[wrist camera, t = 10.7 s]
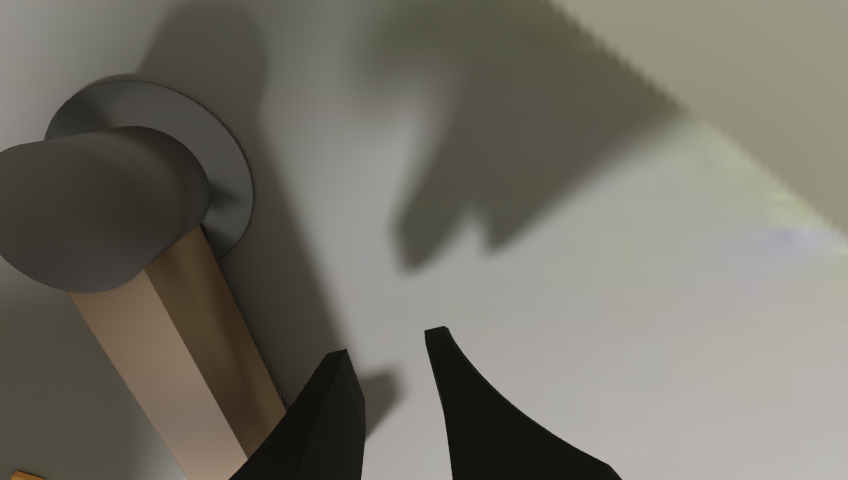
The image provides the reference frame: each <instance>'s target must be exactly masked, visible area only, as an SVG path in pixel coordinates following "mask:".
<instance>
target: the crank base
mask: <svg viewBox="0 0 848 480" xmlns="http://www.w3.org/2000/svg"><path fill="white" fill-rule="evenodd" d="M124 126H143V127H148V128H153V129H156V130H159V131H162V132H164V133H166V134H168V135H170V136H172V137H173V138H175V139H177V140H178V141H179V142H181V143H182V144H183V145H185V146H186V147H187V148H188V149H189V150H190V151H191V152H192V153H193V154H194V156H195V157H196V158H197V159H198V161H199V162H200V164H201V165H202V167H203V169H204V171H205V173H206V176H207V179H208V182H209V186H210V205H209V209H208V212H207V214H206V216H205V218H204V220H203V221H202V223H201V224H200V227H201V229H202V231H203V234H204V236H205V238H206V240H207V242H208V244H209V247H210V249H211V251H212V253H213V255H214V257H215V259H216V260H217V259H219V258H220V257H222V256H224V255H225V254H226V253H227V252H228V251H229V250H231V249H232V248H233V247H234V245H235V244H236V243H237V242H238V241H239V240H240V238H241V237H242V235H243V234H244V232H245V230H246V229H247V226H248V224H249V222H250V219H251V215H252V211H253V206H254V184H253V178H252V173H251V170H250V167H249V164H248V161H247V159H246V156H245V154H244V152H243V150H242V148H241V147H240V145H239V143H238V142H237V140H236V138H235V137H234V136H233V134H232V133H231V132H230V131H229V129H228V128H227V127H226V126H225V125H224V124H223V123H222V122H221V121H220V120H219V119H218V118H217V117H216V116H215V115H214V114H213V113H212V112H210V111H209V110H208V109H207V108H205V107H204V106H203V105H201V104H200V103H198V102H196V101H195V100H193V99H192V98H190V97H188V96H186V95H184V94H182V93H180V92H178V91H175V90H172V89H170V88H167V87H164V86H160V85H156V84H152V83H146V82H137V81H116V82H109V83H103V84H99V85H96V86H93V87H90V88H87V89H85V90H83V91H81V92H79V93H77V94H76V95H75V96H73V97H72V98H70V99H69V100H68V101H66V102H65V104H64V105H63V106H62V107H61V108H60V109H59V110H58V111H57V113H56V114H55V116H54V117H53V119H52V120H51V122H50V124H49V127H48V129H47V131H46V135H45V139H44V140H50V139H56V138H61V137H67V136H72V135H78V134H84V133H89V132H95V131H101V130H106V129H112V128H118V127H124Z"/></svg>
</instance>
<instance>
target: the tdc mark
mask: <svg viewBox="0 0 848 480" xmlns="http://www.w3.org/2000/svg"><path fill="white" fill-rule="evenodd" d="M11 480H43V478H40V477H36V476H33V475H29V474H26V473H22V472H19V471H16V472H15V473H14V474H13V475H12V478H11Z"/></svg>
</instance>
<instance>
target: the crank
mask: <svg viewBox="0 0 848 480" xmlns="http://www.w3.org/2000/svg"><path fill="white" fill-rule="evenodd" d="M209 205H210V186H209V182H208V179H207V176H206V173H205V171H204V169H203V167H202V165H201V164H200V162H199V161H198V159H197V158H196V157H195V156H194V154H193V153H192V152H191V151H190V150H189V149H188V148H187V147H186V146H185V145H183V144H182V143H181V142H179V141H178V140H177V139H175V138H173V137H172V136H170V135H168V134H166V133H164V132H162V131H159V130H156V129H153V128H148V127H143V126H124V127H118V128H112V129H106V130H101V131H95V132H89V133H84V134H78V135H72V136H67V137H61V138H56V139H50V140H44V141H39V142H33V143H27V144H22V145H18V146H14V147H11V148H8V149H6V150H4V151H2V152H0V255H1V256H2V257H3V258H4V259H5V260H6V261H7V262H9V263H10V264H11V265H12V266H13V267H15V268H16V269H18V270H19V271H20V272H22V273H23V274H25V275H27V276H28V277H30V278H32V279H34V280H36V281H38V282H40V283H42V284H45V285H48V286H51V287H53V288H57V289H61V290H65V291H66V292H67V294H68V295H69V297H70V299H71V300H72V302H73V303H74V305H75V306H76V308H77V309H78V311H79V312H80V314H81V316H82V317H83V319H84V320H85V322H86V323H87V325H88V326H89V328H90V329H91V331H92V333H93V334H94V336H95V337H96V339H97V340H98V342H99V343H100V345H101V346H102V348H103V349H104V351H105V353H106V354H107V356H108V357H109V359H110V360H111V362H112V363H113V365H114V366H115V368H116V370H117V371H118V373H119V374H120V376H121V377H122V379H123V380H124V382H125V383H126V385H127V387H128V388H129V390H130V391H131V393H132V394H133V396H134V397H135V399H136V400H137V402H138V404H139V405H140V407H141V408H142V410H143V411H144V413H145V414H146V416H147V417H148V419H149V421H150V422H151V424H152V425H153V427H154V428H155V430H156V431H157V433H158V434H159V436H160V438H161V439H162V441H163V442H164V444H165V445H166V447H167V448H168V450H169V451H170V453H171V454H172V456H173V458H174V459H175V461H176V462H177V464H178V465H179V467H180V468H181V470H182V471H183V473H184V475H185V476H186V478H187V479H188V480H228V479H229V478H230V477H231V476H232V475H233V474H234V473H235V472H237V471H238V470H239V468H240V467H241V466H242V465H243V464H244V463H245V462H246V461H247V460H248V459H249V458H250V456H251V455H252V454H253V453H254V452H255V451H256V450H257V449H258V448H259V446H260V445H261V444H262V443H263V442H264V441H265V439H266V438H267V437H268V436H269V435H270V433H271V432H272V431H273V429H274V428H275V427H276V426H277V424H278V423H279V422H280V420H281V419H282V418H283V416H284V415H285V414H286V410H285V408H284V406H283V404H282V401H281V399H280V397H279V395H278V393H277V391H276V388H275V386H274V384H273V382H272V380H271V378H270V376H269V373H268V371H267V369H266V367H265V365H264V363H263V361H262V358H261V356H260V354H259V352H258V350H257V348H256V345H255V343H254V341H253V339H252V337H251V335H250V333H249V330H248V328H247V326H246V324H245V322H244V320H243V317H242V315H241V313H240V311H239V309H238V307H237V305H236V302H235V300H234V298H233V296H232V294H231V292H230V290H229V287H228V285H227V283H226V281H225V279H224V277H223V274H222V272H221V270H220V268H219V266H218V264H217V262H216V259H215V257H214V255H213V253H212V251H211V249H210V247H209V244H208V242H207V240H206V238H205V236H204V234H203V231H202V229H201V227H200V224H201V223H202V221H203V220H204V218H205V216H206V214H207V212H208V209H209Z"/></svg>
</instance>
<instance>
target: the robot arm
mask: <svg viewBox="0 0 848 480" xmlns="http://www.w3.org/2000/svg"><path fill="white" fill-rule="evenodd" d="M425 343H426V347H427V351H428V355H429V359H430V363H431V366H432V370H433V374H434V378H435V381H436V385H437V389H438V393H439V397H440V400H441V404H442V408H443V412H444V417H445V424H446V431H447V438H448V445H449V453H450V461H451V469H452V477H453V480H622V479H621V478H620V477H619V475H618V474H617V473H616V472H615V471H614V470H613V468H612V467H611V466H610V465H608V464H606V463H604V462H602V461H600V460H598V459H596V458H594V457H592V456H591V455H589V454H587V453H585V452H583V451H581V450H579V449H577V448H575V447H574V446H572V445H570V444H569V443H567V442H565V441H564V440H562V439H560V438H559V437H557V436H556V435H554V434H552V433H551V432H550V431H548V430H547V429H545V428H544V427H542V426H541V425H539V424H538V423H537V422H535V421H534V420H532V419H531V418H529V417H528V416H527V415H525V414H524V413H523V412H521V411H520V410H519V409H518V408H516V407H515V406H514V405H513V404H511V403H510V402H509V401H508V400H507V399H506V398H505V397H503V396H502V395H501V394H500V393H499V392H498V391H497V390H496V389H495V388H494V387H493V386H492V385H491V384H490V383H489V382H488V381H487V380H486V379H485V378H484V377H483V376H482V375H481V374H480V373H479V372H478V371H477V369H476V368H475V367H474V366H473V365H472V364H471V362H470V361H469V360H468V359H467V358H466V356H465V355H464V354H463V352H462V351H461V350H460V348H459V347H458V345H457V344H456V342H455V341H454V339H453V337H452V335H451V333H450V331H449V329H448V328H447V327H445V326H442V327H437V328H433V329H429V330H425ZM365 433H366V426H365V399H364V396H363V394H362V391H361V388H360V385H359V382H358V380H357V377H356V374H355V371H354V369H353V366H352V363H351V360H350V357H349V355H348V352H347V349H344V350H340V351H336V352H332V353H327V354H326V356H325V357H324V359H323V360H322V362H321V363H320V365H319V366H318V367H317V369H316V370H315V372H314V374H313V375H312V377H311V378H310V380H309V381H308V383H307V384H306V386H305V387H304V389H303V390H302V391H301V393H300V394H299V396H298V397H297V399H296V400H295V402H294V403H293V404H292V406H291V407H290V408H289V410H288V411H287V412H286V414H285V415H284V416H283V418H282V419H281V420H280V422H279V423H278V424H277V426H276V427H275V428H274V429H273V431H272V432H271V433H270V435H269V436H268V437H267V438H266V439H265V441H264V442H263V443H262V444H261V445H260V446H259V448H258V449H257V450H256V451H255V452H254V453H253V454H252V455H251V456H250V458H249V459H248V460H247V461H246V462H245V463H244V464H243V465H242V466H241V467H240V468H239V470H238V471H237V472H235V473H234V474H233V475H232V476H231V477H230V478H229V479H228V480H361V475H362V465H363V455H364V445H365Z"/></svg>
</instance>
